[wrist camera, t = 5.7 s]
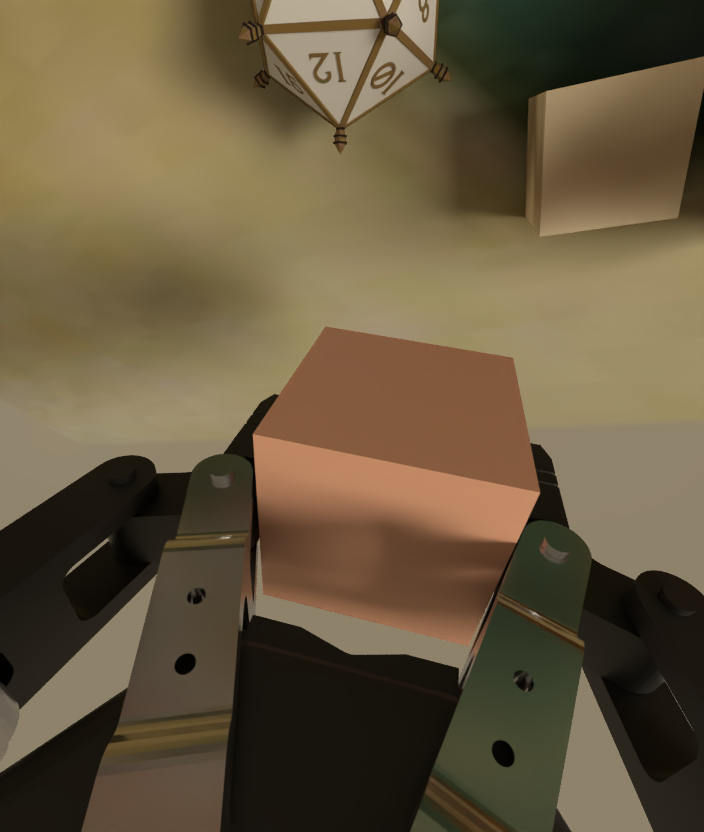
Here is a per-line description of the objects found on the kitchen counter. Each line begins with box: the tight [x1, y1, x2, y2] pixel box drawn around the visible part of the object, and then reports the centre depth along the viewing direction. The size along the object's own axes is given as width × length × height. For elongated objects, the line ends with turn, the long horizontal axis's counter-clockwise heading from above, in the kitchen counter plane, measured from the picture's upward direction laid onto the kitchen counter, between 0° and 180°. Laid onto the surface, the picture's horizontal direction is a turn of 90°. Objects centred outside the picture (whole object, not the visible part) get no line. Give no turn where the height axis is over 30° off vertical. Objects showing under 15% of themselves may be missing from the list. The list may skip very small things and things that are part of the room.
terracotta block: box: [253, 327, 540, 646], centre depth 11 cm, size 5×5×5 cm
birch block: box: [525, 57, 704, 237], centre depth 18 cm, size 5×5×5 cm
